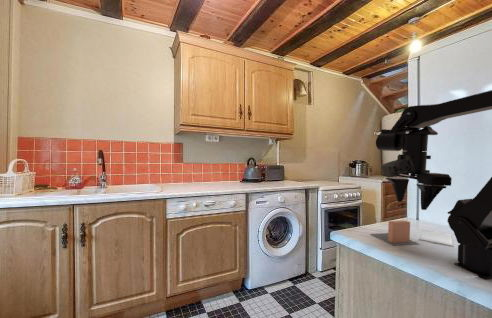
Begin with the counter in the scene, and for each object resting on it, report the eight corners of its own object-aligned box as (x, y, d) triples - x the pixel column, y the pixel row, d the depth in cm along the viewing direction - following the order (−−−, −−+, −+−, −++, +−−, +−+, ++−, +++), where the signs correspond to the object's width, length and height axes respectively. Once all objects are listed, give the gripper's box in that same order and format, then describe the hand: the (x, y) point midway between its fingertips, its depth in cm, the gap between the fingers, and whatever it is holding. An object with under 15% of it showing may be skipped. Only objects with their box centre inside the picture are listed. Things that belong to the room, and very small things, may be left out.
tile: (409, 241, 69) (410, 221, 69) (392, 242, 68) (392, 222, 68) (405, 239, 71) (405, 220, 71) (388, 240, 70) (388, 221, 70)
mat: (420, 245, 68) (420, 244, 68) (393, 247, 66) (393, 245, 66) (392, 234, 77) (392, 232, 77) (369, 235, 76) (369, 234, 76)
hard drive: (420, 228, 80) (418, 238, 71) (452, 234, 75) (454, 245, 66) (420, 233, 80) (418, 243, 71) (451, 239, 75) (454, 250, 66)
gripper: (368, 150, 75) (365, 197, 76) (411, 151, 56) (407, 214, 57) (401, 151, 75) (398, 198, 76) (455, 152, 57) (451, 215, 57)
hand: (410, 205), depth 67 cm, fingers open, 9 cm apart
